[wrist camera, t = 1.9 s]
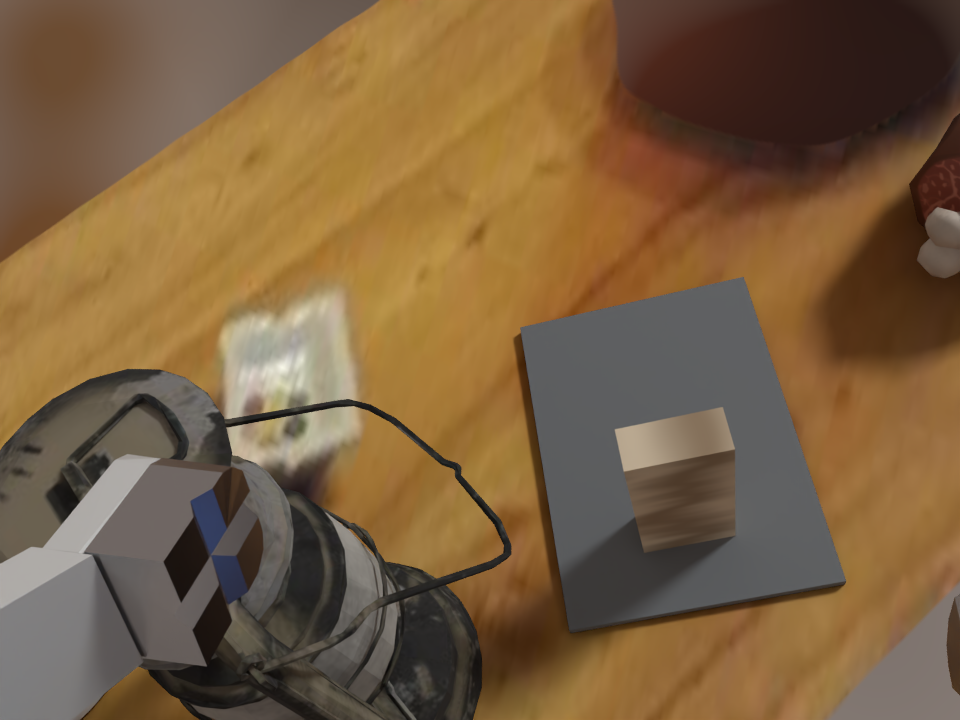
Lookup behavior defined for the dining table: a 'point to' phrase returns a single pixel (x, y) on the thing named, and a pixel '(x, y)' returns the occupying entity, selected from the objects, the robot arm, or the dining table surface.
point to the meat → (940, 205)
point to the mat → (655, 396)
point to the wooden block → (680, 478)
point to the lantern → (262, 566)
